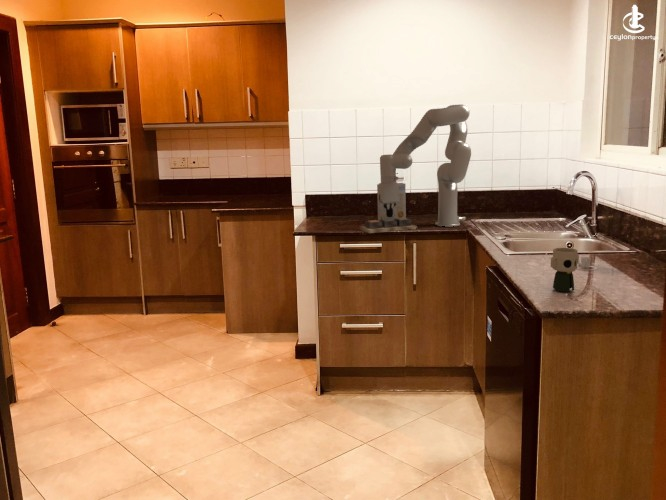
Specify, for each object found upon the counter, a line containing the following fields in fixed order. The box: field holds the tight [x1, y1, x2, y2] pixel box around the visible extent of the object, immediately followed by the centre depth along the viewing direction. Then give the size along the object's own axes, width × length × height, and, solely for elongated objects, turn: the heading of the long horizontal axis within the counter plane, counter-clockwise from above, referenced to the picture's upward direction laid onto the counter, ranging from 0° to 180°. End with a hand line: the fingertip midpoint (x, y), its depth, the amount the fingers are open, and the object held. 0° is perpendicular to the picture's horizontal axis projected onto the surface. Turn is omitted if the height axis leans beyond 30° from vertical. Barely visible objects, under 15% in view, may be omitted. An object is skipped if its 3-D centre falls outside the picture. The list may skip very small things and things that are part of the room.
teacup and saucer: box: [576, 256, 598, 271], centre depth 223 cm, size 9×8×4 cm
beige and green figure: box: [550, 247, 580, 293], centre depth 193 cm, size 11×7×13 cm, turn 114°
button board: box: [359, 217, 418, 234], centre depth 312 cm, size 26×12×4 cm, turn 110°
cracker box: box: [376, 182, 407, 221], centre depth 330 cm, size 14×6×21 cm, turn 105°
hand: (389, 216), depth 312 cm, fingers closed
